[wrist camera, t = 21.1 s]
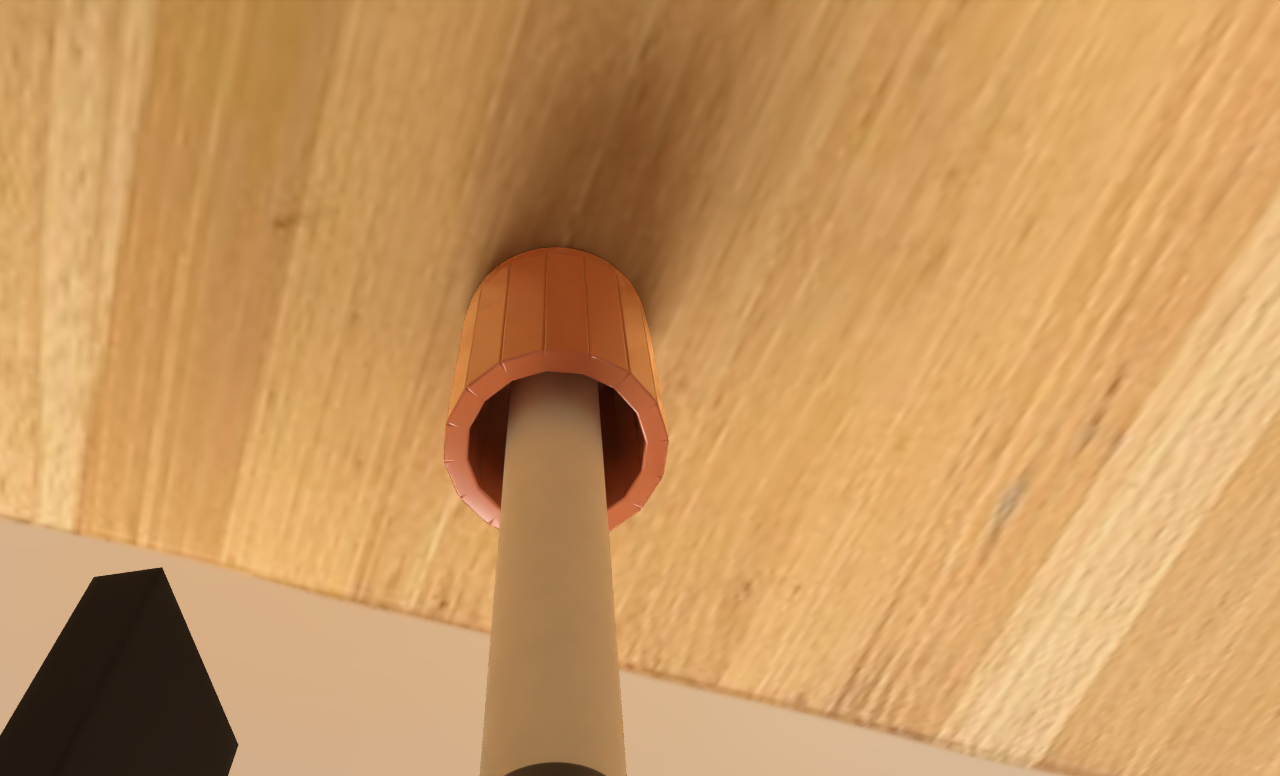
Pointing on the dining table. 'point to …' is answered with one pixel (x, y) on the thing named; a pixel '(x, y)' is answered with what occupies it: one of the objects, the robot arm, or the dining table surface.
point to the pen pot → (556, 342)
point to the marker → (553, 593)
